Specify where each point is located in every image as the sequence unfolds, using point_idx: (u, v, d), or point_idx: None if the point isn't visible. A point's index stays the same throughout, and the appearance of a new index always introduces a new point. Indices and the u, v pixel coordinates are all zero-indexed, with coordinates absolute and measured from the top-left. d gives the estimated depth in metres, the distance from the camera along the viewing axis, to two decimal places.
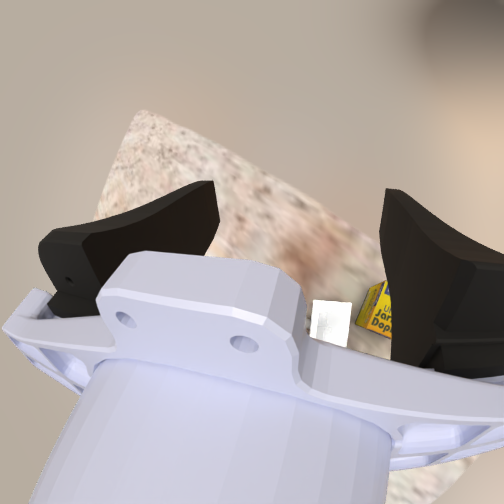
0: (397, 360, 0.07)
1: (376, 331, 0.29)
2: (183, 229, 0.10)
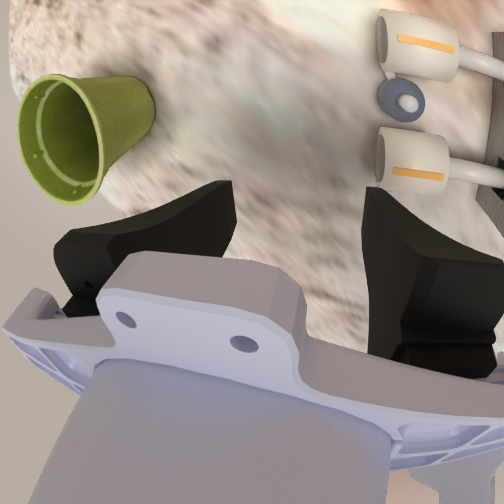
0: None
1: None
2: (203, 230, 0.10)
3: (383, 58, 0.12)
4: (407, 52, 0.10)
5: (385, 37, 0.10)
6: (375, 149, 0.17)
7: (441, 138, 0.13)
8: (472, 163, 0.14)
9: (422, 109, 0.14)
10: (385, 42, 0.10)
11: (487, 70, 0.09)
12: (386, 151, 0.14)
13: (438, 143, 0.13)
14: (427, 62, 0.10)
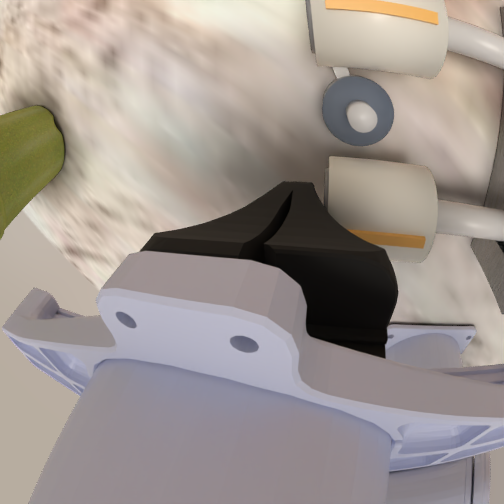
0: None
1: None
2: None
3: (311, 44, 0.07)
4: (346, 26, 0.06)
5: (307, 7, 0.06)
6: None
7: (427, 173, 0.09)
8: (475, 209, 0.09)
9: (389, 124, 0.09)
10: (308, 15, 0.06)
11: (498, 58, 0.05)
12: (328, 202, 0.09)
13: (421, 184, 0.09)
14: (388, 42, 0.06)
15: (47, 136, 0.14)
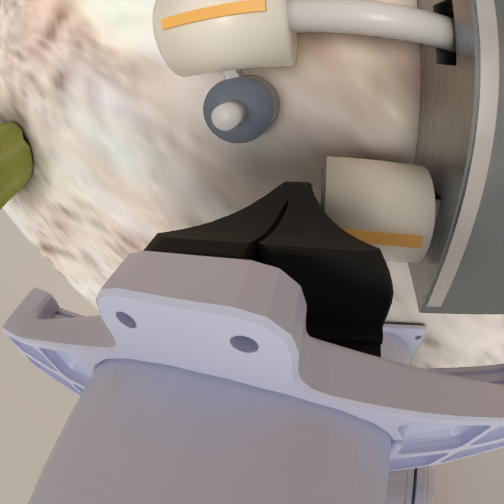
0: None
1: None
2: None
3: None
4: (183, 40, 0.07)
5: None
6: None
7: (424, 173, 0.09)
8: None
9: (267, 118, 0.10)
10: None
11: (374, 26, 0.06)
12: (325, 202, 0.09)
13: (418, 183, 0.09)
14: (223, 43, 0.07)
15: (16, 149, 0.15)
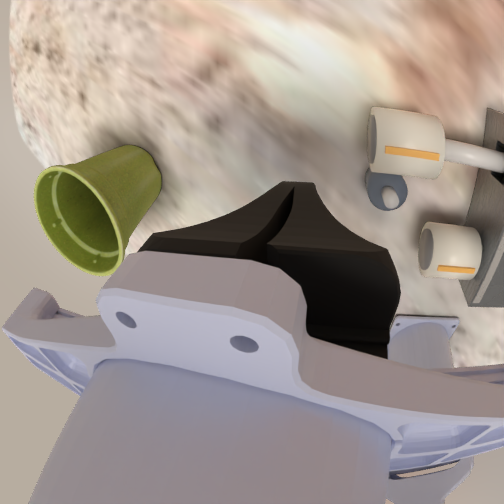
0: None
1: None
2: None
3: (370, 161, 0.15)
4: (392, 161, 0.14)
5: (374, 145, 0.14)
6: (421, 237, 0.19)
7: (477, 234, 0.16)
8: None
9: (404, 198, 0.17)
10: (373, 150, 0.14)
11: (472, 163, 0.13)
12: (435, 252, 0.16)
13: (474, 241, 0.16)
14: (411, 169, 0.14)
15: (152, 176, 0.22)
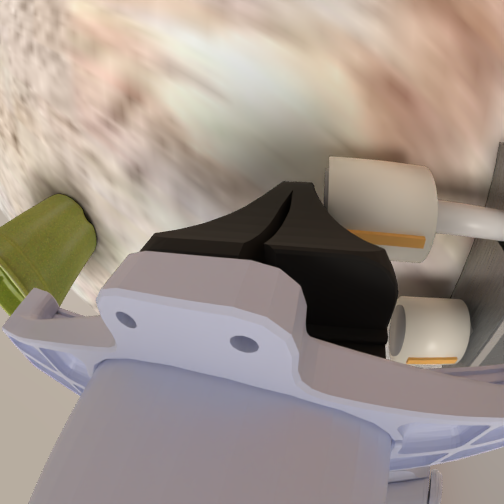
0: None
1: None
2: None
3: None
4: None
5: None
6: (394, 311, 0.16)
7: (466, 315, 0.12)
8: None
9: None
10: None
11: (475, 236, 0.09)
12: (405, 344, 0.13)
13: (461, 325, 0.12)
14: None
15: (81, 232, 0.18)
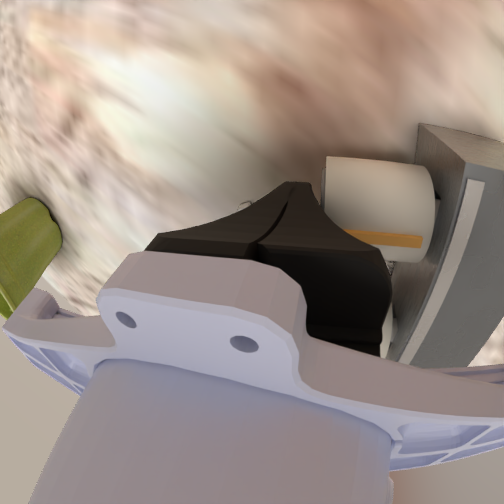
0: None
1: None
2: None
3: None
4: None
5: None
6: None
7: (388, 312, 0.13)
8: None
9: None
10: None
11: None
12: None
13: None
14: None
15: (46, 230, 0.20)
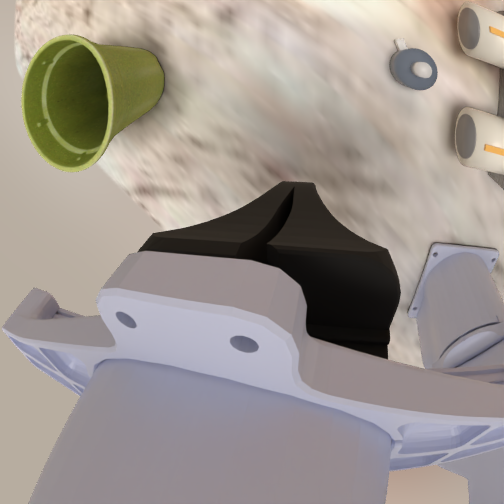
0: None
1: None
2: None
3: (473, 45, 0.09)
4: (496, 42, 0.08)
5: (477, 27, 0.08)
6: (457, 128, 0.14)
7: None
8: None
9: (435, 78, 0.13)
10: (477, 31, 0.08)
11: None
12: (479, 128, 0.11)
13: None
14: None
15: (155, 70, 0.17)
